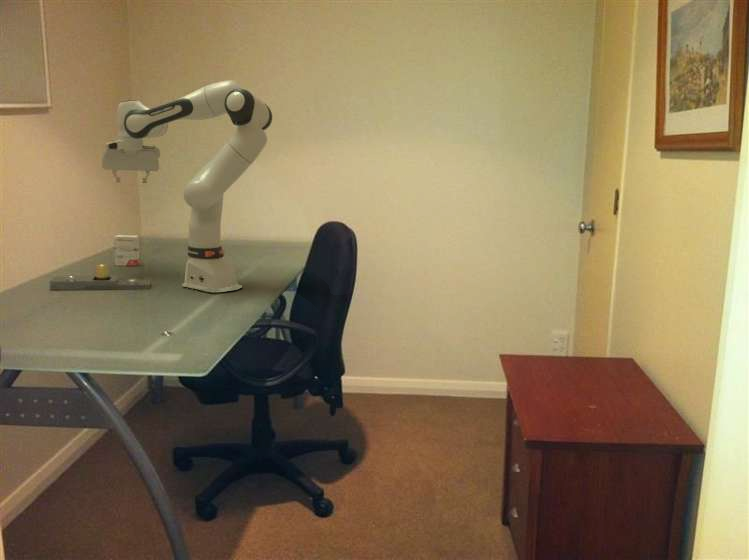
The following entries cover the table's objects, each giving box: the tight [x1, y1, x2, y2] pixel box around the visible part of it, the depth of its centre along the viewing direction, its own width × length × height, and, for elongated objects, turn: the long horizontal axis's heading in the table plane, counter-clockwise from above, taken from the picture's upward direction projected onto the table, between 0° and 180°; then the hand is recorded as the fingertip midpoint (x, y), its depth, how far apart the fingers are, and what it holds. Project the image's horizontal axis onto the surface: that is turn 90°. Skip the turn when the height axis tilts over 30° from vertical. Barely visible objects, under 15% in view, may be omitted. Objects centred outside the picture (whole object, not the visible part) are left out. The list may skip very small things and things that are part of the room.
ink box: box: [113, 234, 140, 267], centre depth 279 cm, size 9×5×12 cm, turn 96°
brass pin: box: [95, 263, 109, 280], centre depth 242 cm, size 4×4×8 cm
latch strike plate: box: [49, 274, 152, 291], centre depth 243 cm, size 32×8×4 cm, turn 105°
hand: (131, 182), depth 262 cm, fingers open, 8 cm apart
